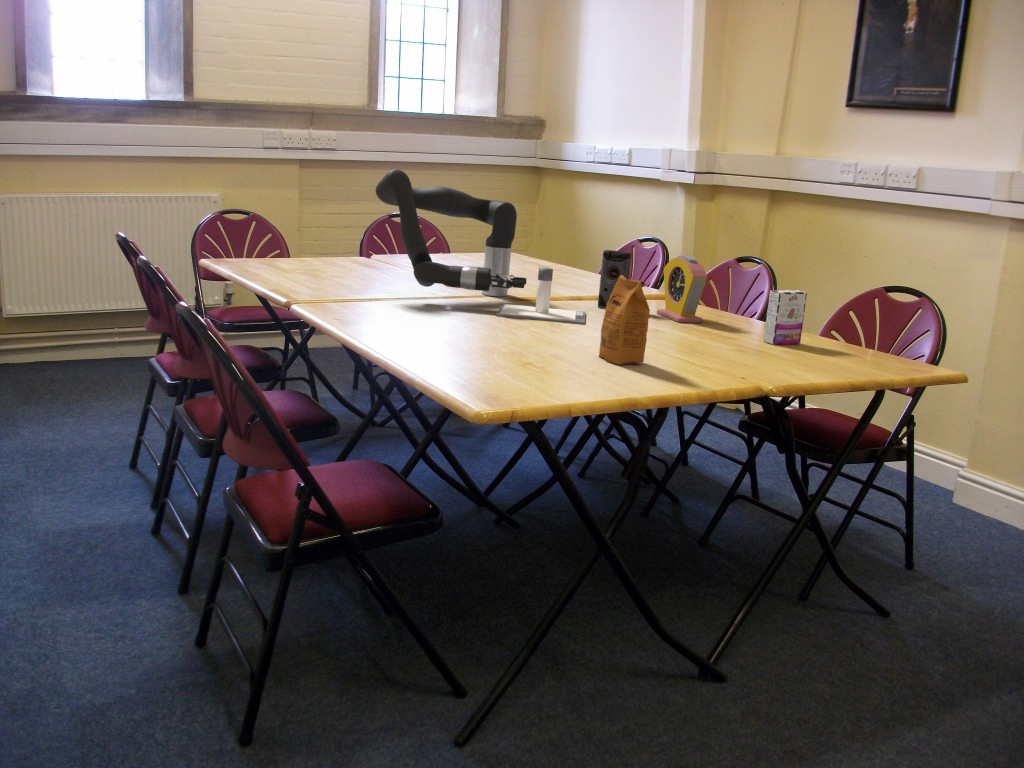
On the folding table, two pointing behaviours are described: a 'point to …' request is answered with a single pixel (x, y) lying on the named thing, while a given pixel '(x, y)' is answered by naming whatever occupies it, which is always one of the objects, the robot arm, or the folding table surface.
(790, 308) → the candy bar box
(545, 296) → the marker
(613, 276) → the electronic device
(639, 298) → the coffee package
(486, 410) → the folding table surface
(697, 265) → the yellow desk clock
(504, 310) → the clipboard
